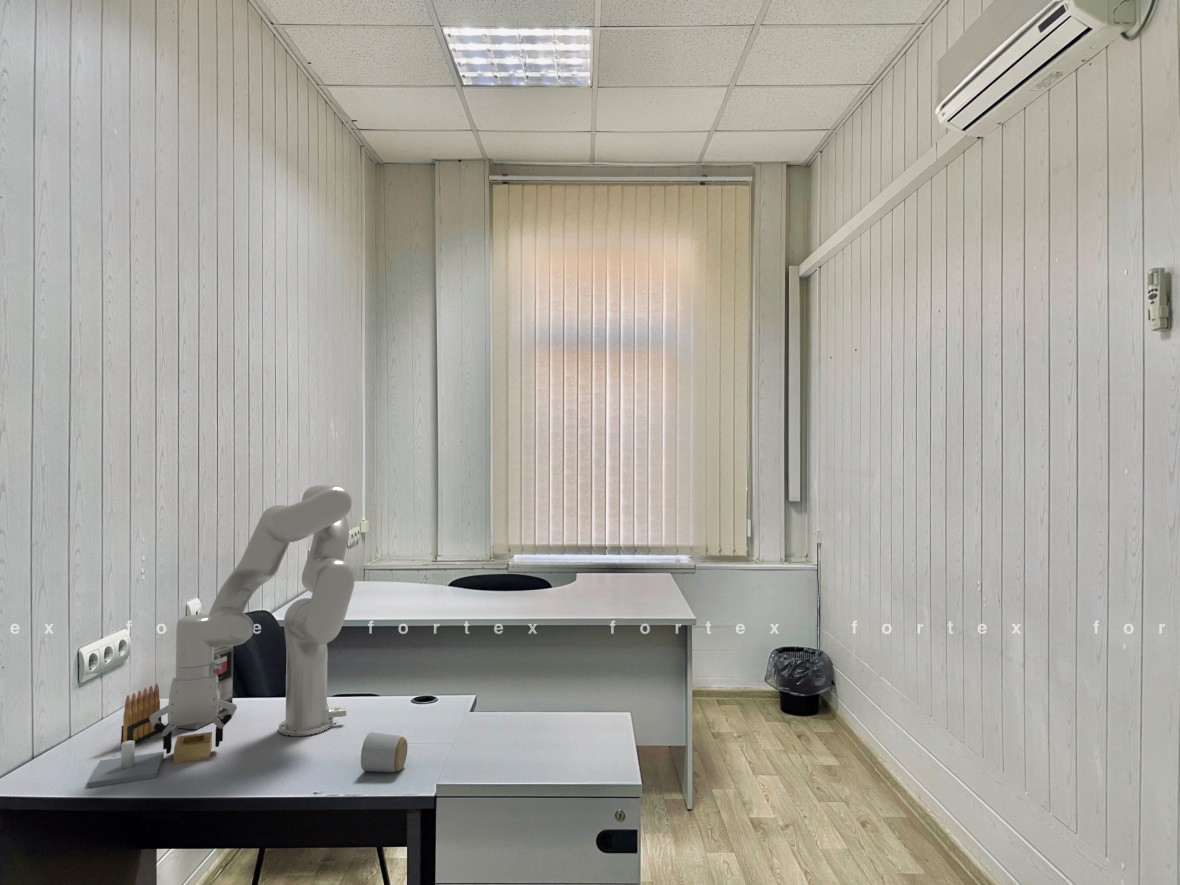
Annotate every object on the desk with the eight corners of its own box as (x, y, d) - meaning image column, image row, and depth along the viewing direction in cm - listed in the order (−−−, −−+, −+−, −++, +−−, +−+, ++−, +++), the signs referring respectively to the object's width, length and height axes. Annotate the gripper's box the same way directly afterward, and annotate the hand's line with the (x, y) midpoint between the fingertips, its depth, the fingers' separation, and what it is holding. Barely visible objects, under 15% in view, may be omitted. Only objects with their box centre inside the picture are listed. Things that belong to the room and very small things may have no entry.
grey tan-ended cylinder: (397, 778, 151) (398, 740, 151) (359, 776, 152) (360, 739, 152) (413, 758, 162) (413, 723, 162) (377, 757, 162) (378, 722, 163)
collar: (212, 747, 168) (212, 731, 168) (209, 758, 161) (210, 742, 161) (177, 751, 165) (177, 736, 165) (173, 763, 158) (174, 747, 158)
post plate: (163, 756, 162) (164, 729, 162) (156, 777, 151) (156, 748, 152) (100, 765, 157) (100, 737, 158) (87, 787, 146) (88, 757, 147)
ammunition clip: (127, 749, 166) (128, 696, 167) (120, 748, 167) (121, 696, 167) (161, 732, 177) (162, 682, 177) (155, 731, 177) (155, 682, 177)
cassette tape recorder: (197, 730, 178) (198, 628, 179) (175, 728, 179) (177, 626, 180) (235, 711, 191) (237, 616, 192) (215, 710, 193) (216, 615, 193)
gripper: (238, 663, 170) (236, 736, 170) (152, 671, 163) (151, 748, 163) (236, 671, 164) (235, 748, 163) (147, 680, 156) (146, 760, 156)
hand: (193, 748), depth 163 cm, fingers open, 9 cm apart
